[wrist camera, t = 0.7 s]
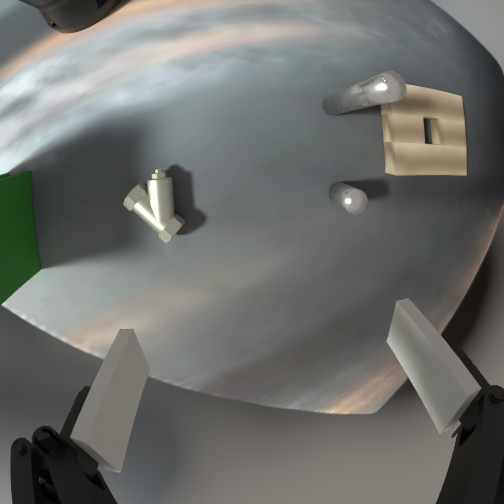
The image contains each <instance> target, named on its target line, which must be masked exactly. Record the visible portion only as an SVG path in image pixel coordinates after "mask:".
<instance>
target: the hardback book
mask: <svg viewBox="0 0 504 504" xmlns="http://www.w3.org/2000/svg"><path fill="white" fill-rule="evenodd" d="M40 270H41V265H40V259H39V254H38V247H37V241H36V234H35V225H34V216H33V203H32V184H31V171H27V172H23V173H20V174H16V175H12V176H9V173H5V174H2V175H0V305H1V304H2V303H3V302H5V301H6V300H7V299H8V298H9V297H10V296H11V295H12V294H13V293H14V292H15V291H17V290H18V289H19V288H20V287H21V286H22V285H23V284H25V283H26V282H27V281H28V280H29V279H30V278H32V277H33V276H34V275H35V274H36V273H38V272H39V271H40Z"/></svg>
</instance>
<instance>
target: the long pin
mask: <svg viewBox="0 0 504 504" xmlns="http://www.w3.org/2000/svg"><path fill="white" fill-rule="evenodd" d="M406 92H407V88H406V84H405V82H404V80H403V78H402V77H401V76H400V75H399V74H397V73H395V72H393V71H386V72H384V73H381V74H379V75H377V76H374V77H372V78H369V79H367V80H365V81H362V82H360V83H358V84H356V85H353V86H351V87H349V88H347V89H345V90H343V91H340V92H338V93H336V94H334V95H332V96H330V97H328V98H326V99H325V100H324V101H323V109H324V111H325V112H326V113H327V114H329V115H338V114H342V113H346V112H349V111H354V110H358V109H362V108H366V107H371V106H375V105H380V104H385V103H390V102H395V101H400V100H402V99H403V98H404V97H405V96H406Z"/></svg>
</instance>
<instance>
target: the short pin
mask: <svg viewBox="0 0 504 504" xmlns="http://www.w3.org/2000/svg"><path fill="white" fill-rule="evenodd" d="M329 196H330V198H331V200H332V201H333V202H335V203H336V204H338V205H339V206H341V207H342V208H344V209H345V210H347V211H348V212H350V213H351V214H360V213H362V212H363V211H364V210H365V209H366V207H367V203H368V199H367V196H366V194H365V193H364V192H363V191H361V190H359V189H357V188H354V187H352V186H350V185H347V184H345V183H342V182H337V183H334V184H333V185H332V186H331V188H330V191H329Z"/></svg>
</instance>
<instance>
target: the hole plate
mask: <svg viewBox="0 0 504 504" xmlns="http://www.w3.org/2000/svg"><path fill="white" fill-rule="evenodd" d="M406 88H407V92H406V96H405V97H404V98H403V99H402V100H400V101H395V102H390V103H385V104H380V108H381V116H382V126H383V137H384V151H385V173H389V174H393V175H467V155H466V133H465V120H464V111H463V102H462V96H458V95H454V94H451V93H447V92H442V91H438V90H434V89H429V88H424V87H419V86H413V85H407V84H406ZM423 119H431V131H432V144H425V136H424V123H423Z"/></svg>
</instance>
